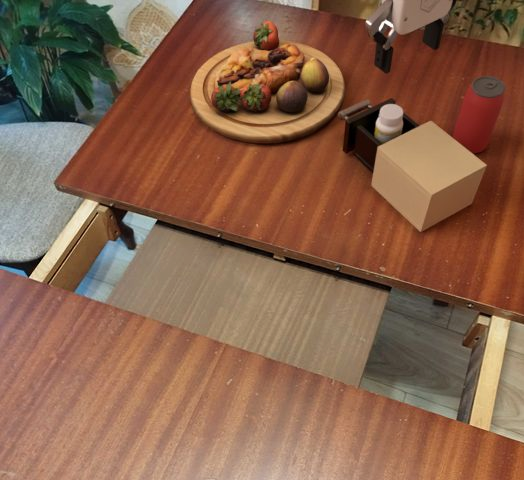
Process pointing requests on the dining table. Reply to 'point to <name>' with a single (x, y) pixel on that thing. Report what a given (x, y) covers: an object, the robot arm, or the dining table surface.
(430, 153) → the tan box
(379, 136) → the supplement bottle
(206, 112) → the wooden plate
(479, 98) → the beer can
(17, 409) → the dining table surface
